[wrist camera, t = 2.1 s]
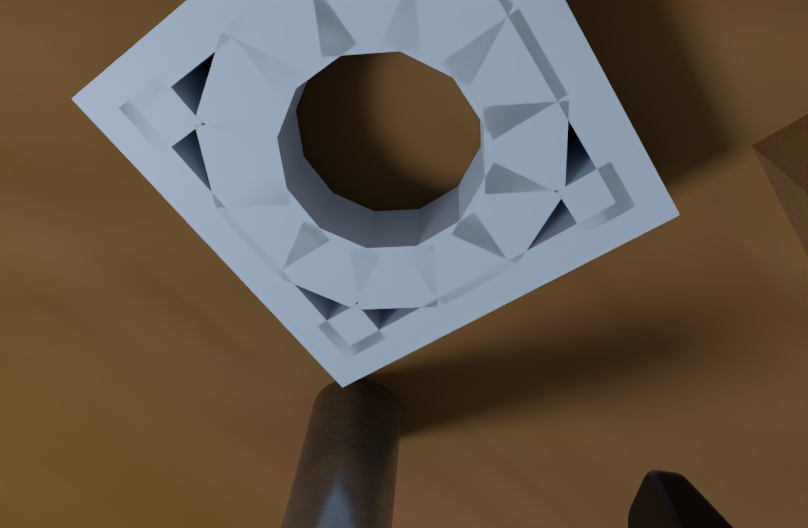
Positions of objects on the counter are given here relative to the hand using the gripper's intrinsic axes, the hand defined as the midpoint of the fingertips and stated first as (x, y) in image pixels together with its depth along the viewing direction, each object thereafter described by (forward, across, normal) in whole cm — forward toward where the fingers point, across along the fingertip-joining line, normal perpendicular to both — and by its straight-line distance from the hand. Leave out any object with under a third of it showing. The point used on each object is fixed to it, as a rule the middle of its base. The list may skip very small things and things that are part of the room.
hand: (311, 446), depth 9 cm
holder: (+13, 0, 0) cm, 13 cm away
